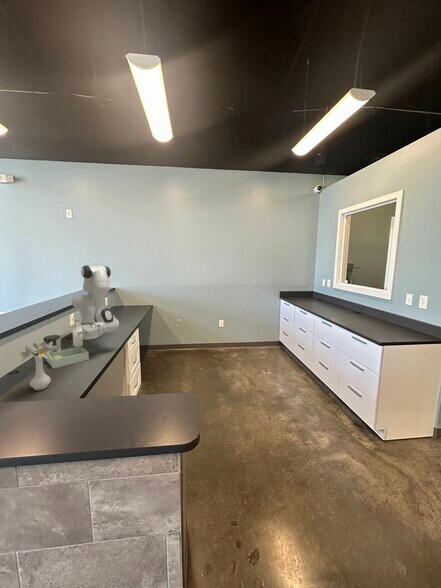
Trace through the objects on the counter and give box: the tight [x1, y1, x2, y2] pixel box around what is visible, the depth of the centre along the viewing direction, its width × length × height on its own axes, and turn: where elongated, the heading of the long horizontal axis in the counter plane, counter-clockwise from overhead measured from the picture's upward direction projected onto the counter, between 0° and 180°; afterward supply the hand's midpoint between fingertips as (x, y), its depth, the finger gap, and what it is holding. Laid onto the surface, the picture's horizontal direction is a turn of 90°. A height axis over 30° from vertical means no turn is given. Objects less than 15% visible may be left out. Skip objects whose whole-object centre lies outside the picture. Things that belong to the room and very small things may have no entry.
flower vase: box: [20, 341, 57, 391], centre depth 136 cm, size 13×18×25 cm
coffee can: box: [43, 334, 62, 355], centre depth 180 cm, size 10×10×14 cm
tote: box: [46, 346, 90, 369], centre depth 172 cm, size 16×22×6 cm
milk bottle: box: [71, 318, 84, 348], centre depth 174 cm, size 6×6×19 cm
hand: (76, 331), depth 174 cm, fingers closed on milk bottle, 6 cm apart
